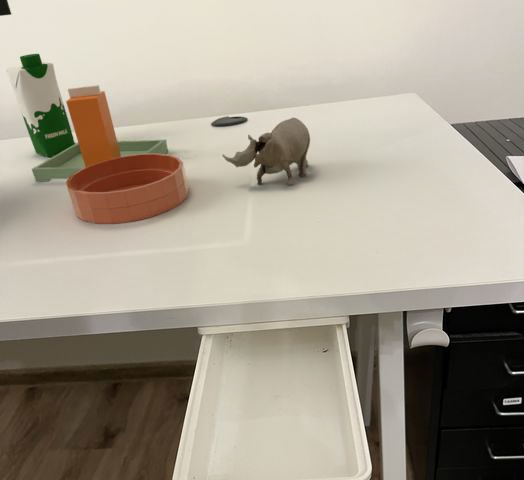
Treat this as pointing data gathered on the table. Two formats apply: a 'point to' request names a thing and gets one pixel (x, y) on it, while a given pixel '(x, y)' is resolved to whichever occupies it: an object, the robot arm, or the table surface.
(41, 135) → the milk carton
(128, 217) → the bowl
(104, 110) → the carton
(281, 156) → the rhinoceros figurine
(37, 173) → the tray
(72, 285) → the table surface
